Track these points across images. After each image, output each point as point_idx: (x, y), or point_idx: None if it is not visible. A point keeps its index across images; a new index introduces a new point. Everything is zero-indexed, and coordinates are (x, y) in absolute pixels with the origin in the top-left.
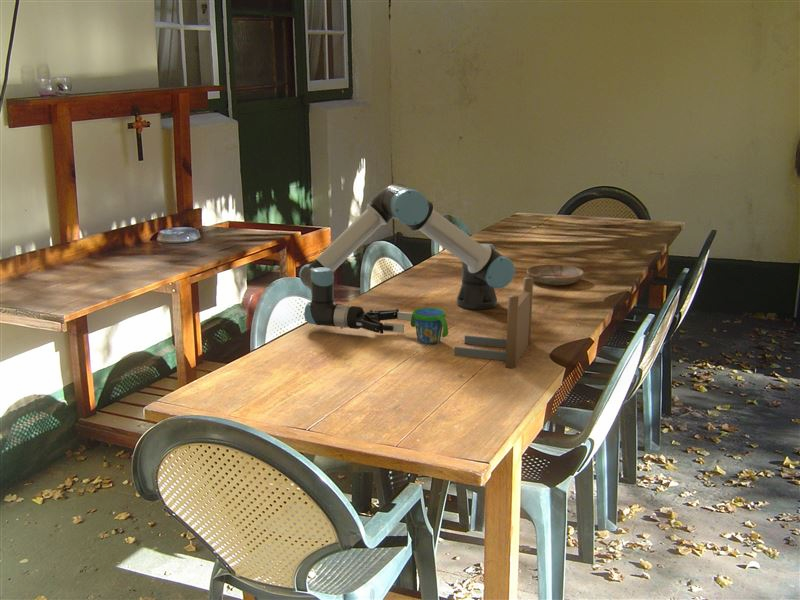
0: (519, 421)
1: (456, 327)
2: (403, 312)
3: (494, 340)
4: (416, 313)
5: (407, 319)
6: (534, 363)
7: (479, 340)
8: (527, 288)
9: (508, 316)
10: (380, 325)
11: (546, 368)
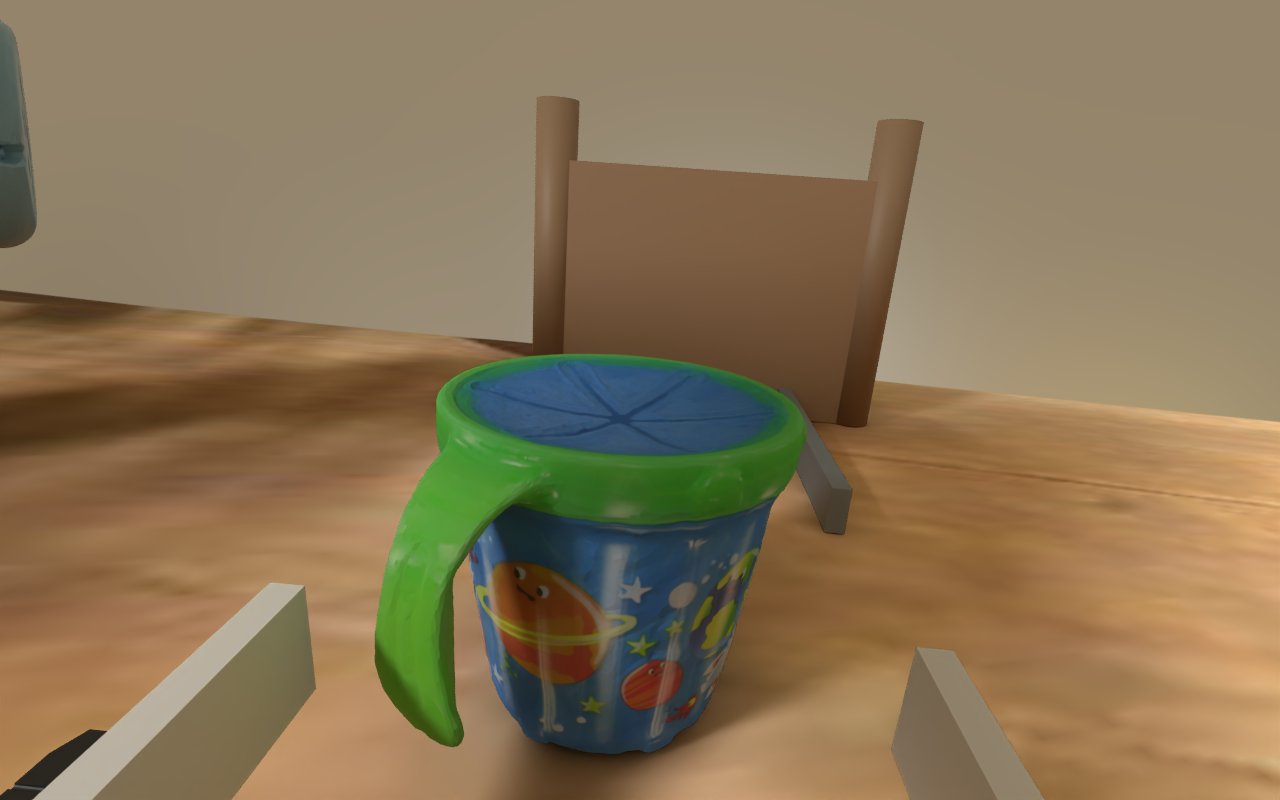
0: (1260, 420)
1: (178, 555)
2: (106, 764)
3: None
4: (720, 450)
5: (218, 790)
6: None
7: None
8: (577, 147)
9: (904, 213)
10: None
11: None
